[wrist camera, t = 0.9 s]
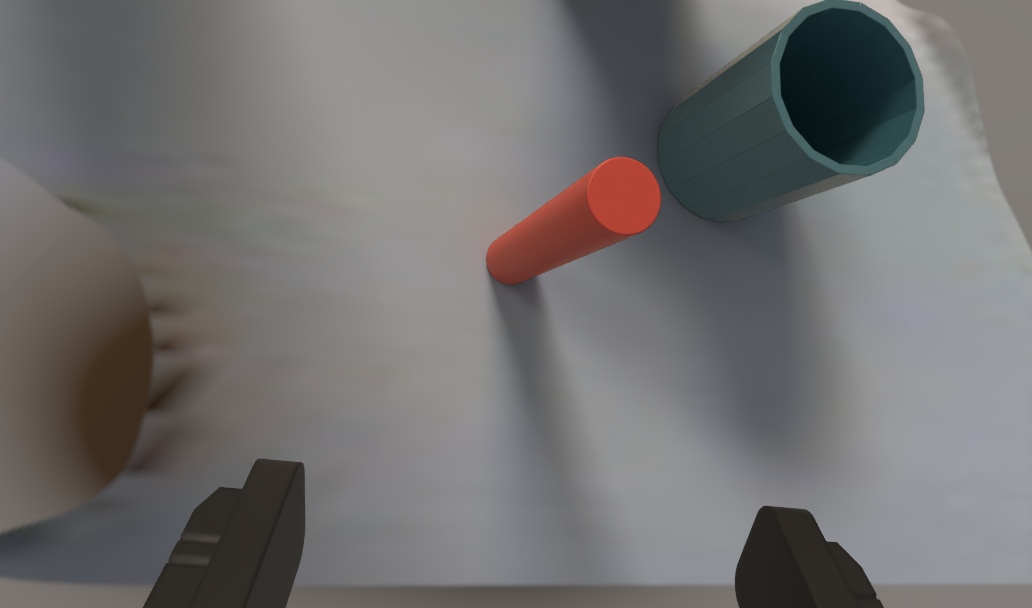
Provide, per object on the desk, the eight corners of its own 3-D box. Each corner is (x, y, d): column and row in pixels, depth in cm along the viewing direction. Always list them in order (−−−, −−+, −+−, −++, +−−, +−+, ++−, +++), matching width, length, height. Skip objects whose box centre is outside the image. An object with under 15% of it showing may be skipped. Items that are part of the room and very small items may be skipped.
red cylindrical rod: (478, 246, 35) (575, 171, 21) (522, 228, 35) (643, 145, 22) (497, 292, 35) (606, 247, 21) (541, 273, 35) (673, 219, 22)
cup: (636, 113, 37) (744, 26, 28) (747, 73, 39) (884, -21, 29) (688, 241, 37) (813, 200, 28) (796, 195, 39) (948, 141, 30)
